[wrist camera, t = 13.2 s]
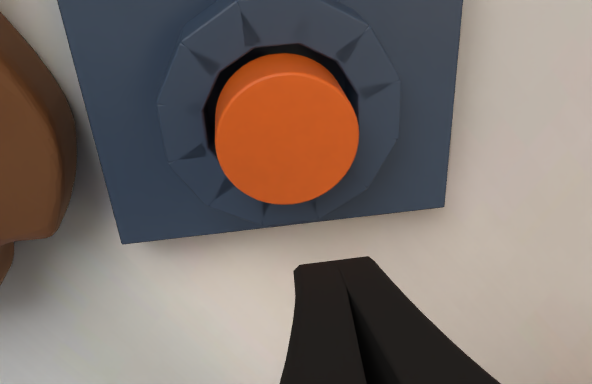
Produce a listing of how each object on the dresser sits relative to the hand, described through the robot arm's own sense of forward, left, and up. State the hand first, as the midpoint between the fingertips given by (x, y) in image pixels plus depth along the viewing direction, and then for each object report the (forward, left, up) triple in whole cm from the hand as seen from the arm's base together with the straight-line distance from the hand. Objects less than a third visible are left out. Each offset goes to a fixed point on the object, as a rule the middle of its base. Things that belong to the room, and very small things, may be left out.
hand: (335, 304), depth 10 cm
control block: (0, +1, -10) cm, 10 cm away
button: (0, +1, -7) cm, 7 cm away
